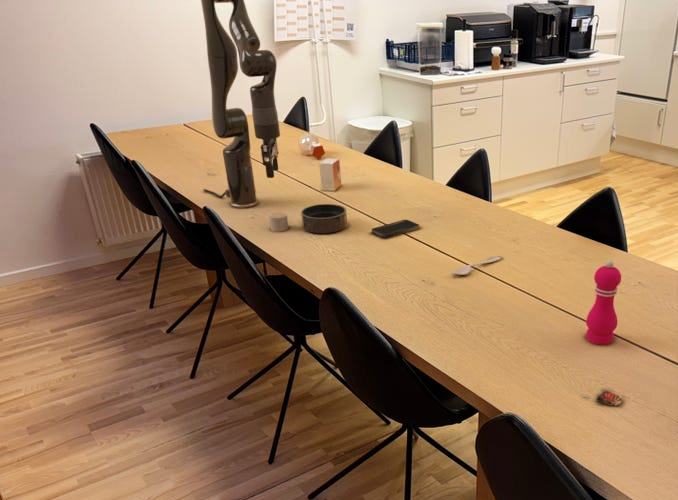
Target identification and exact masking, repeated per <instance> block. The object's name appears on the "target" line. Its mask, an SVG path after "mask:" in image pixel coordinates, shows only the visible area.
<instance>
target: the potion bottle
mask: <svg viewBox="0 0 678 500" xmlns="http://www.w3.org/2000/svg"><path fill="white" fill-rule="evenodd" d="M298 148H299V150H300V152H301V153H302V154H304V155H306V156H312V157H314V158H315V159H317V160H320V159H321V158H322V157H323V156H324V155H325V154H326V152H325V149H324V146H323V144H322V143H321V142H320V140H319V139H318V137H317V136H316V135H314V134H313V133H307V132H306V133H305V134H302V135H301V136H300V137H299V139H298Z"/></svg>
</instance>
